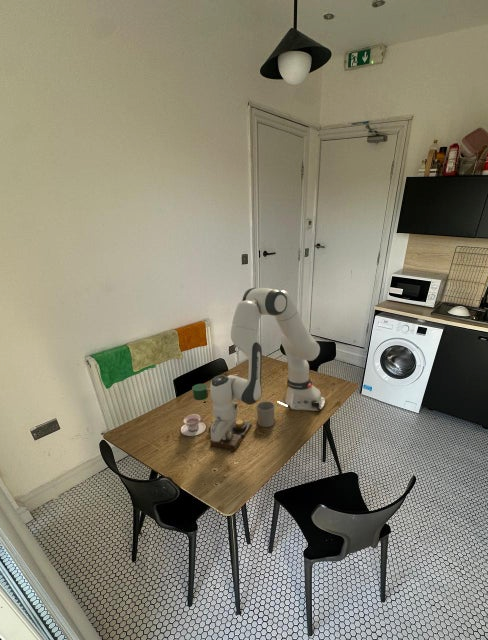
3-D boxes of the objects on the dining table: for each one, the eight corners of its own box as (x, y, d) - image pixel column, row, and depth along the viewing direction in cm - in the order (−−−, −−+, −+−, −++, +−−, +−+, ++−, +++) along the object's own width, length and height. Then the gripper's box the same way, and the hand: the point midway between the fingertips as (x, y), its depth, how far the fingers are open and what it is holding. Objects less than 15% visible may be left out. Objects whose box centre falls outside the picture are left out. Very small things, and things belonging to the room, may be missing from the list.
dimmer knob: (231, 437, 146) (231, 432, 145) (230, 439, 145) (229, 434, 143) (221, 435, 148) (221, 430, 146) (220, 437, 146) (219, 432, 145)
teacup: (197, 439, 150) (195, 428, 147) (175, 433, 154) (173, 422, 151) (210, 425, 160) (209, 414, 157) (190, 420, 163) (188, 409, 160)
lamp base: (251, 425, 160) (251, 420, 158) (243, 437, 151) (243, 431, 150) (218, 419, 164) (217, 414, 162) (209, 431, 156) (208, 425, 154)
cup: (276, 419, 165) (276, 403, 159) (270, 428, 158) (270, 411, 153) (261, 416, 167) (260, 400, 162) (255, 425, 160) (254, 408, 155)
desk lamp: (226, 417, 160) (223, 387, 151) (220, 425, 154) (216, 394, 145) (201, 412, 163) (196, 382, 154) (194, 420, 157) (189, 389, 148)
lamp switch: (244, 423, 156) (244, 420, 155) (241, 427, 153) (241, 424, 152) (237, 422, 157) (237, 419, 156) (234, 426, 154) (234, 423, 153)
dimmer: (242, 439, 150) (242, 434, 149) (234, 451, 143) (233, 446, 141) (219, 434, 153) (218, 429, 152) (210, 446, 146) (209, 441, 144)
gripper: (219, 426, 130) (222, 452, 137) (239, 401, 146) (241, 425, 154) (205, 423, 131) (208, 449, 138) (226, 398, 148) (228, 423, 155)
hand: (225, 436), depth 146 cm, fingers closed on dimmer knob, 2 cm apart
